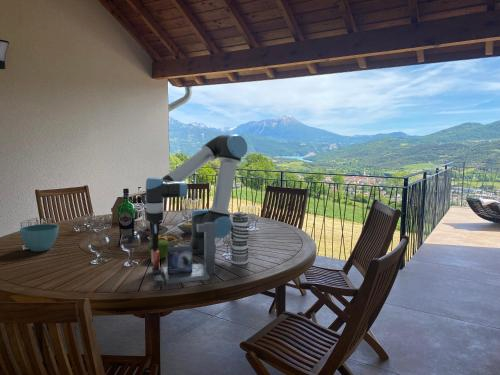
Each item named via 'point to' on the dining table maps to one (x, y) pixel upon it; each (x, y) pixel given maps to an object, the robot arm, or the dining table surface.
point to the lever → (156, 262)
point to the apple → (161, 248)
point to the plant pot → (39, 236)
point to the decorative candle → (239, 238)
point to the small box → (179, 260)
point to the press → (197, 269)
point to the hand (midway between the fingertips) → (154, 262)
